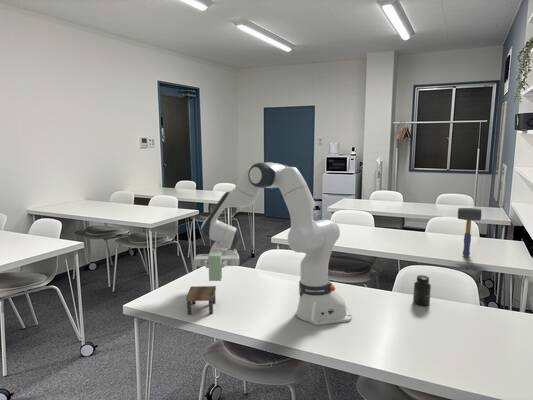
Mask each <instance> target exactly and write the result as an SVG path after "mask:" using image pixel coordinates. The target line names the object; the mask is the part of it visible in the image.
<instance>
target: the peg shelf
mask: <svg viewBox="0 0 533 400" xmlns="http://www.w3.org/2000/svg"><path fill="white" fill-rule="evenodd" d="M216 287H217V286H216V285H214V286H213V285H210V286H209V285H206V286H205V285H204V286H202V285H201V286H199V285H198V286H189V289H188V293H187V294H186V297H185V301H186V309H187V310H186V311H187V315H188V316H189V315H191V314H192V305H195V304H196V302H203V301H204V302H205V301H207V302H208V313H209V314H208V315H213V314H214V305H215V304H216V290H217V288H216Z"/></svg>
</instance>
